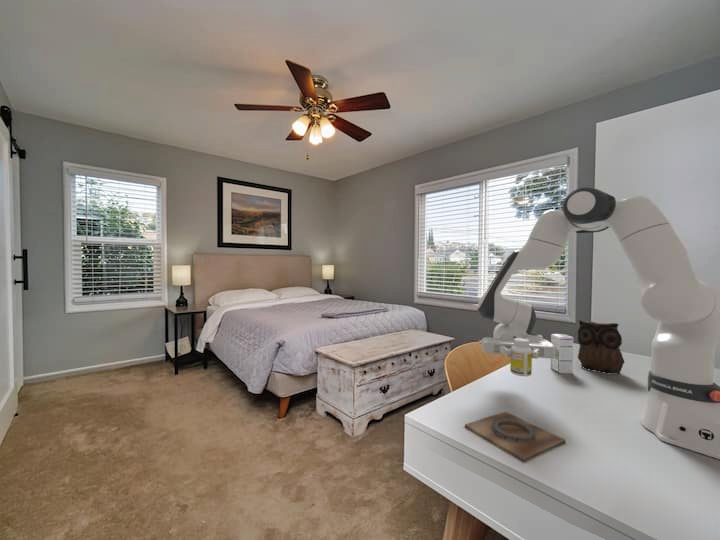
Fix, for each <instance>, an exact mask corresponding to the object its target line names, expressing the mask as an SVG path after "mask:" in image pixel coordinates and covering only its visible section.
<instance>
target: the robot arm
mask: <svg viewBox="0 0 720 540" xmlns="http://www.w3.org/2000/svg"><path fill="white" fill-rule="evenodd" d="M609 228H610V229H611V231H613V232H614V234H615V235H616V239H618V241H619V243H620V246H621V248H622V249H623V251H624V253H625V254H626V256H627V259H628V260H629V262H630V264H631V266H632V269H633V271H634V274H635V277H636V281H637V285H638V288H639V292H640V295H641V305H642V309H643V310H644V312H645V313H646V314H647V315H648V316H649V317H650V318H652V319H654V320H655V321H658V324H657V328H656V331H655V334H654V338H653V339H652V341H651V350H650V351H651V354H650V355H651V357H650V358H651V359H650V370H649V371H648V375H647V392H648V399H647V403H646V407H645V411H644V413H643V416H642V417H641V419H640V423H641V425H642V426H643V427H644V428H645V429H646V430H648V431H650V432H652V433H653V434H654V435H655V436H656V437H657V438H658V439H659V440H660V441H662V442H664V443H668V444H671V445H674V446H677V447H680V448H683V449H686V450H688V451H692V452H696V453H700V454H703V455H704V456H708V457H711V458H715V459H718V460H720V385H718V384H717V383H715V381H714V378H715V377H714V376H715V355H716V354H715V353H716V346H717V342H718V338H719V334H720V333H719V332H720V290H719V289H718V288H717V287H716V286H714V285H713V284H711V283H709V282H708V281H707V282H706V281H704V280H700V279H698V278H697V277H696V274H695V272H694V269H693V268H692V265H691V262H690V259H689V256H688V251H687V249H686V247H685V245H684V244H683V242H682V241H681V239H680V238H679V236H678V234H677V233H676V231H675V230H674V228H673V226H672V224H671V223H670V221H669V220H668V218H667V217H666V215H664V213H663V212H662V211H661V209H659V208H658V206H657V205H656V204H655V203H654V202H653V201H652V200H651V199H650V198H648V197H647V196H642V195H635V196H628V197H625V198H624V199H621V200H616V197H615V196H614V195H611V194H608V192H607V193H606V192H604V191H602V190H600V189H598V188H594V187H590V186H589V187H587V186H585V187H584V186H583V187H580V188H576V189H575V190H573V191H571V192H570V193H568V195H567V196H566V197H565V199H564V200H563V203H562V209H549V210H546V211H544V212H542V213H541V215H540V216H539V218H538V219H537V221H536V222H535V224H534V226H533V228H532V230H531V231H530V234H529V236H528V239H527V241H526V242H525V244H524V245H523V246H522V247H521V248H520V249H517V250H514V251H512V252H511V253H510V254H509V255H508V257H507V258H506V260H505V261H504V263H503V264H502V265H501V267H500V269H499V270H498V272H497V273H496V275H495V277H494V278H493V280H492V281H491V283H490V285H489V286H488V288H487V289H486V290H485V292H484V293H483V294H482V296H481V297H480V298H479V300H478V302H477V309H476V310H477V311H478V314H479V315H480V316H481V318H482V319H483V320H488V321H491V322H492V321H493V322H496V323H498V324H497V325H496V326H495V327H494V330H493V333H492V334H493V335H492V336H493V337H489V336H487V337H483V338H481V340H480V339H479V341H478V344H479V345H481V352H482V353H485V354H493V355H494V354H495V355H504V356H505V357H509V358H511V356H512V354H511V353H512V351H511V347H512V346H514V345H515V344H514V339H515V338H522V339H527V340H529V346H528V347H529V348H530V349H531V350H532V359H538V358H542V359H550V360H551V359H553V358H555V356H556V348H555V346H554V345H553V344H552V343H551V341H549V340H547V339H544V337H543V335H541V334H536V333H531V332H532V331H533V329H534V326H535V325H536V321H537V314H536V310H535V309H534V307H533V305H532V304H530V303H527V302H525V301H522V300H518V299H515V298H512V297H509V296H506V295H503V294H502V293H501V292H502V291H503V290H504V288H505V287H506V285H507V284H508V282H509V280H510V279H511V277H512V276H513V274H515V273H517V272H519V271H523V270H525V271H526V270H540V269H541V270H542V269H547V268H550V267H552V266H555V264H558V262H559V261H560V259H561V257H562V255H563V253H564V252H565V248H566V246H567V243H568V242H569V239H570V237H571V236H572V234H574V233H577V234H584V233H586V234H587V233H598V232H603V231H605V230H608V229H609Z"/></svg>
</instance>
